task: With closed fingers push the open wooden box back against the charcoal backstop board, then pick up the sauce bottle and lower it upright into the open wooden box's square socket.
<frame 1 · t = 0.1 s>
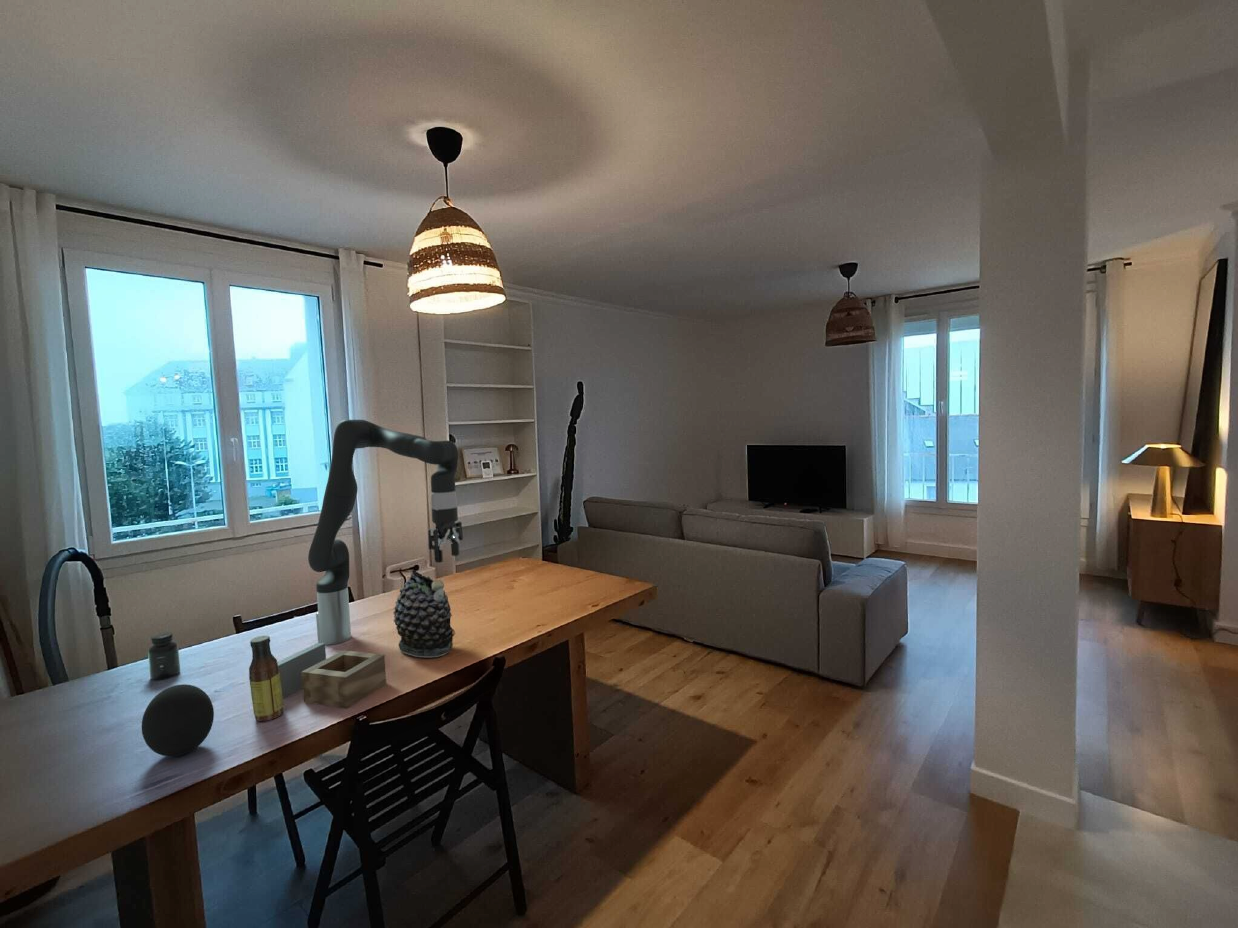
hand: (447, 558, 172), 29 cm above the table, fingers open, 8 cm apart
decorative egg: (182, 753, 123), on the table
sauce bottle: (268, 717, 138), on the table
backstop: (300, 685, 154), on the table
supplement bottle: (165, 675, 164), on the table
open wooden box: (345, 677, 149), point 4 cm above the table, slide at 7.0 cm
scaly dragon egg: (425, 651, 176), on the table
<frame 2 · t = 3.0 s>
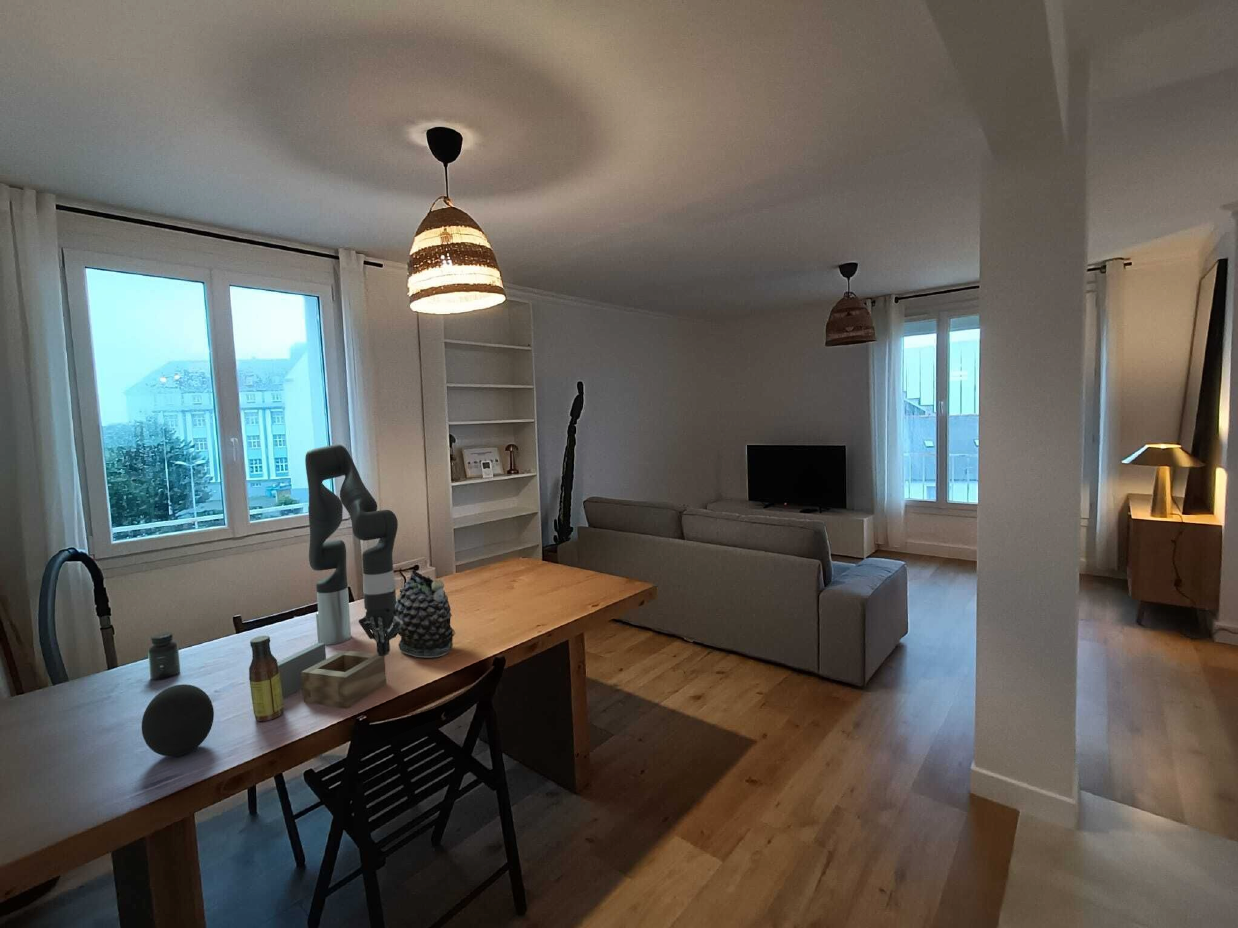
hand: (383, 654, 144), 11 cm above the table, fingers closed
nothing on the table moved.
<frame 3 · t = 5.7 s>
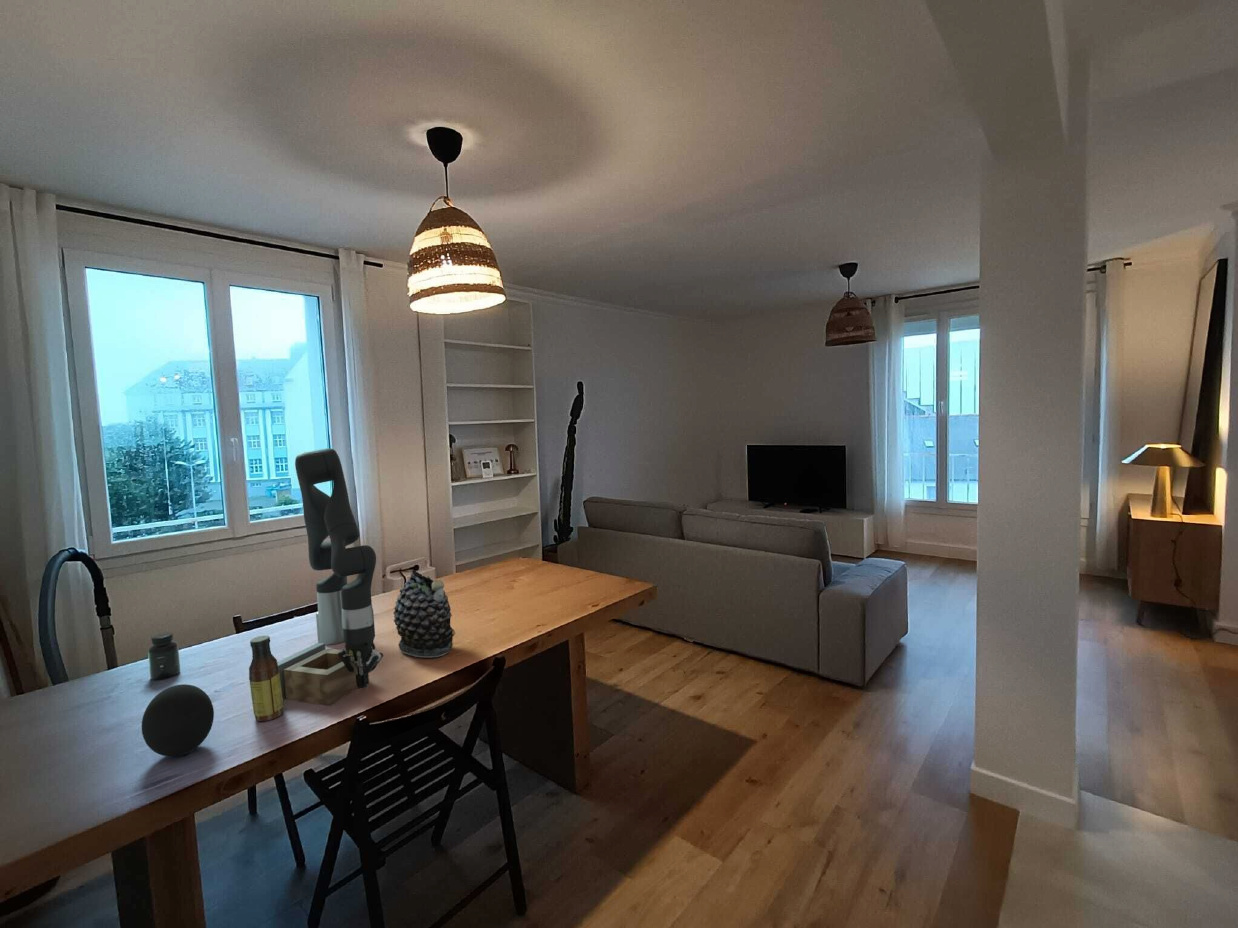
hand: (362, 686, 148), 2 cm above the table, fingers closed
open wooden box: (327, 675, 151), point 4 cm above the table, slide at 1.2 cm, touching hand
everything else where it was.
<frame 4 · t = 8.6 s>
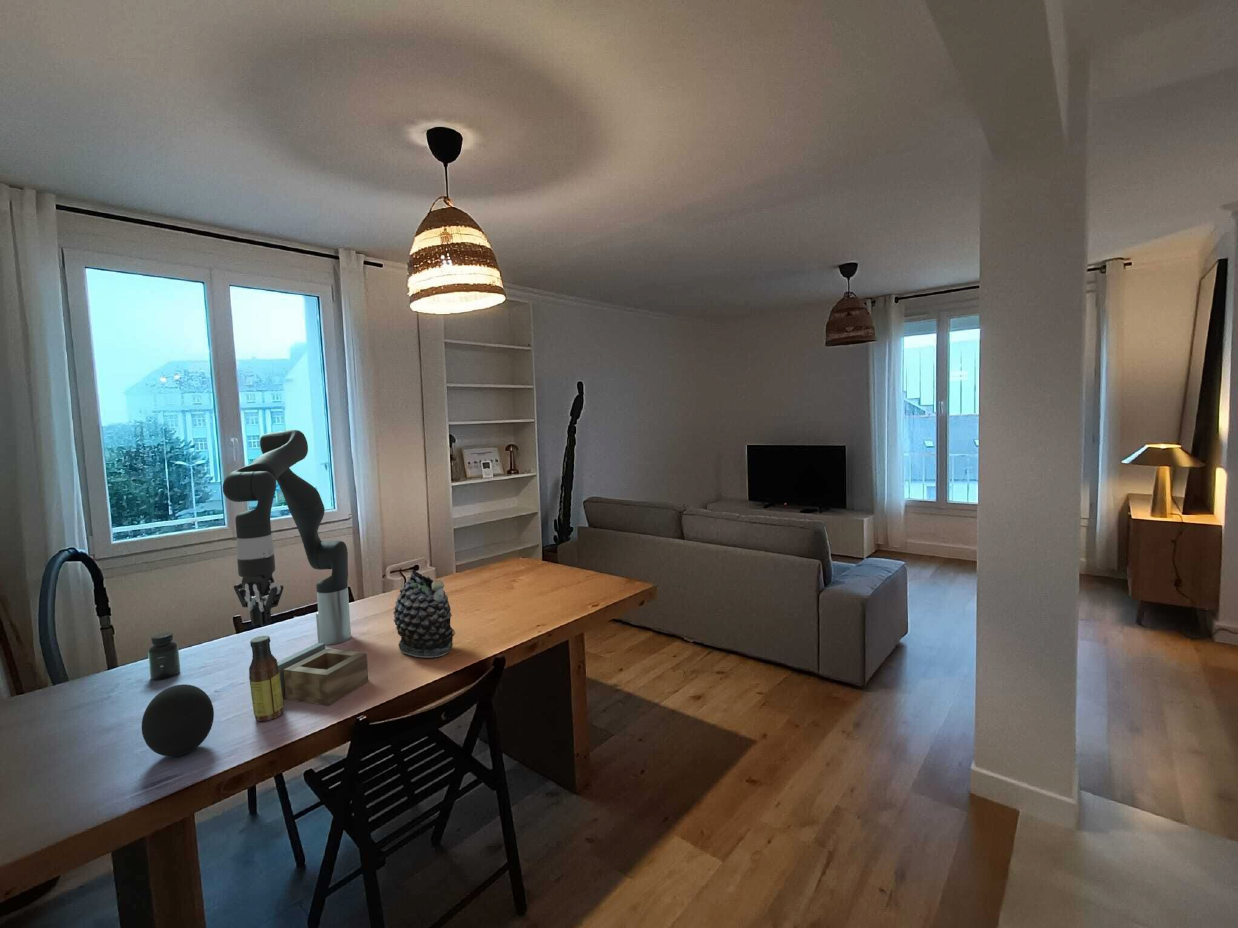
hand: (261, 624, 136), 23 cm above the table, fingers closed
open wooden box: (327, 675, 151), point 4 cm above the table, slide at 1.1 cm
everything else where it was.
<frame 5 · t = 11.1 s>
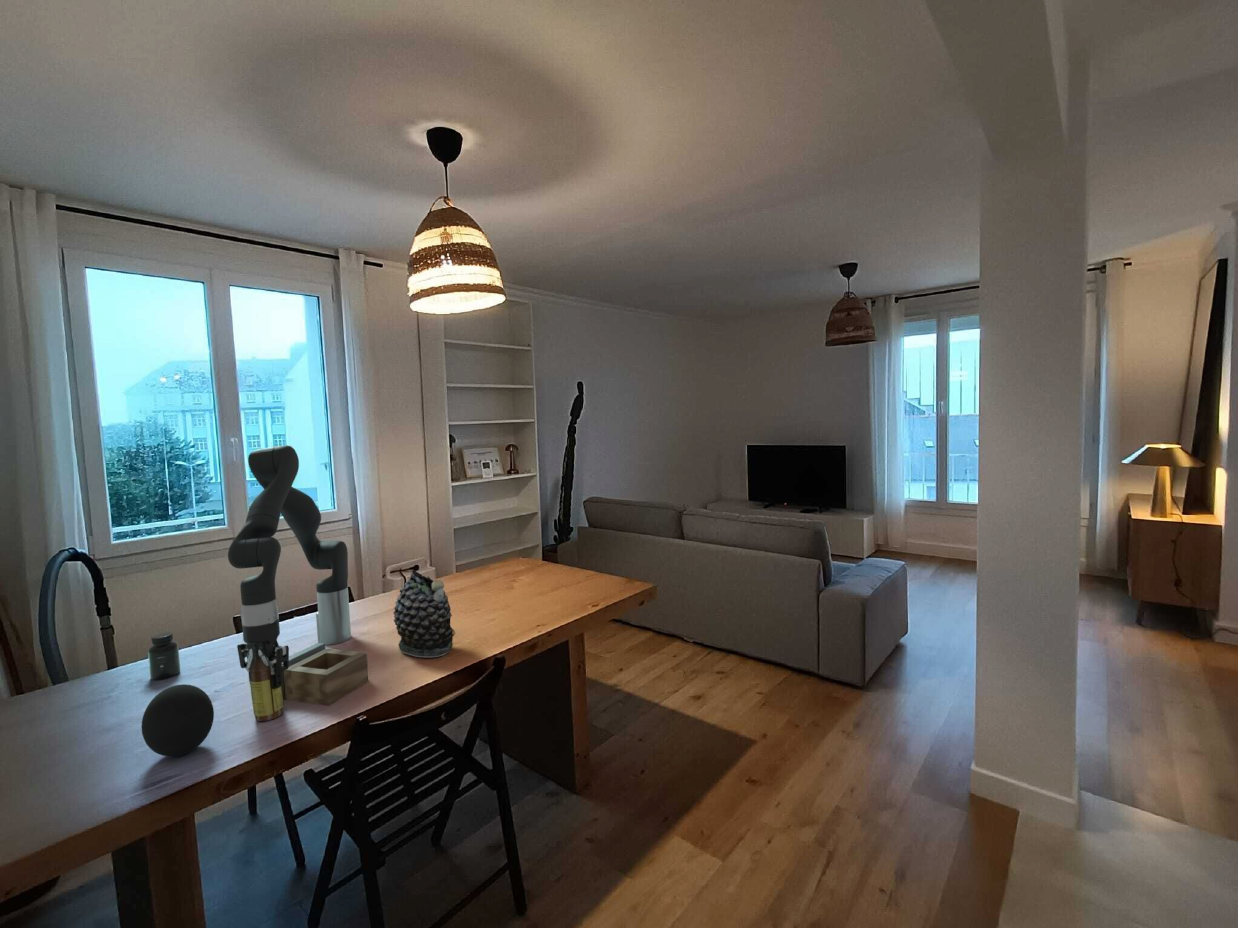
hand: (265, 685, 137), 8 cm above the table, fingers closed on sauce bottle, 6 cm apart
sauce bottle: (268, 717, 138), on the table, touching gripper
everything else where it was.
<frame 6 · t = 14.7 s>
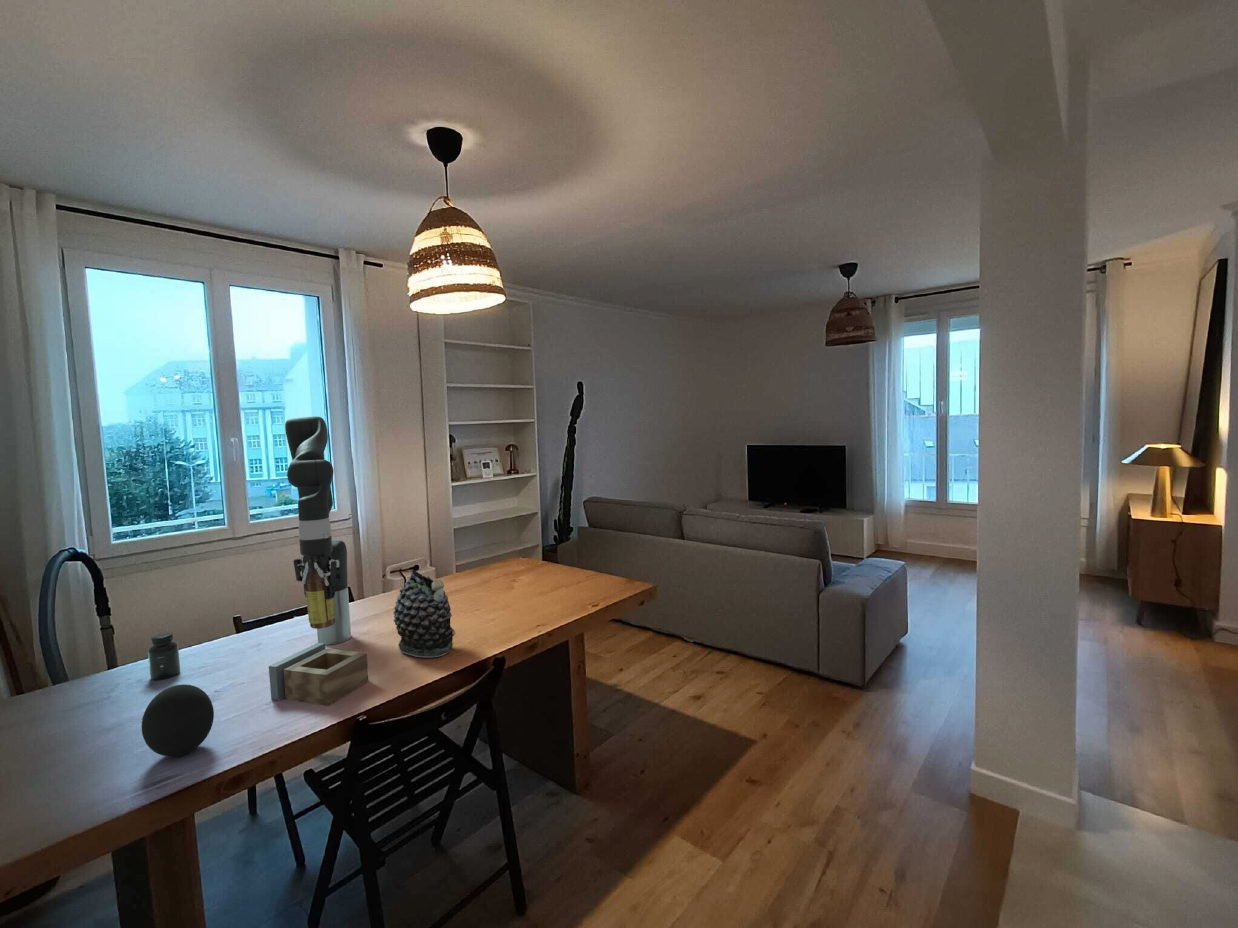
hand: (320, 597, 149), 25 cm above the table, fingers closed on sauce bottle, 6 cm apart
sauce bottle: (322, 626, 150), point 17 cm above the table, touching gripper
everything else where it was.
when the fingers open (10 cm above the table, at t = 18.3 s): sauce bottle stays where it is, resting on open wooden box.
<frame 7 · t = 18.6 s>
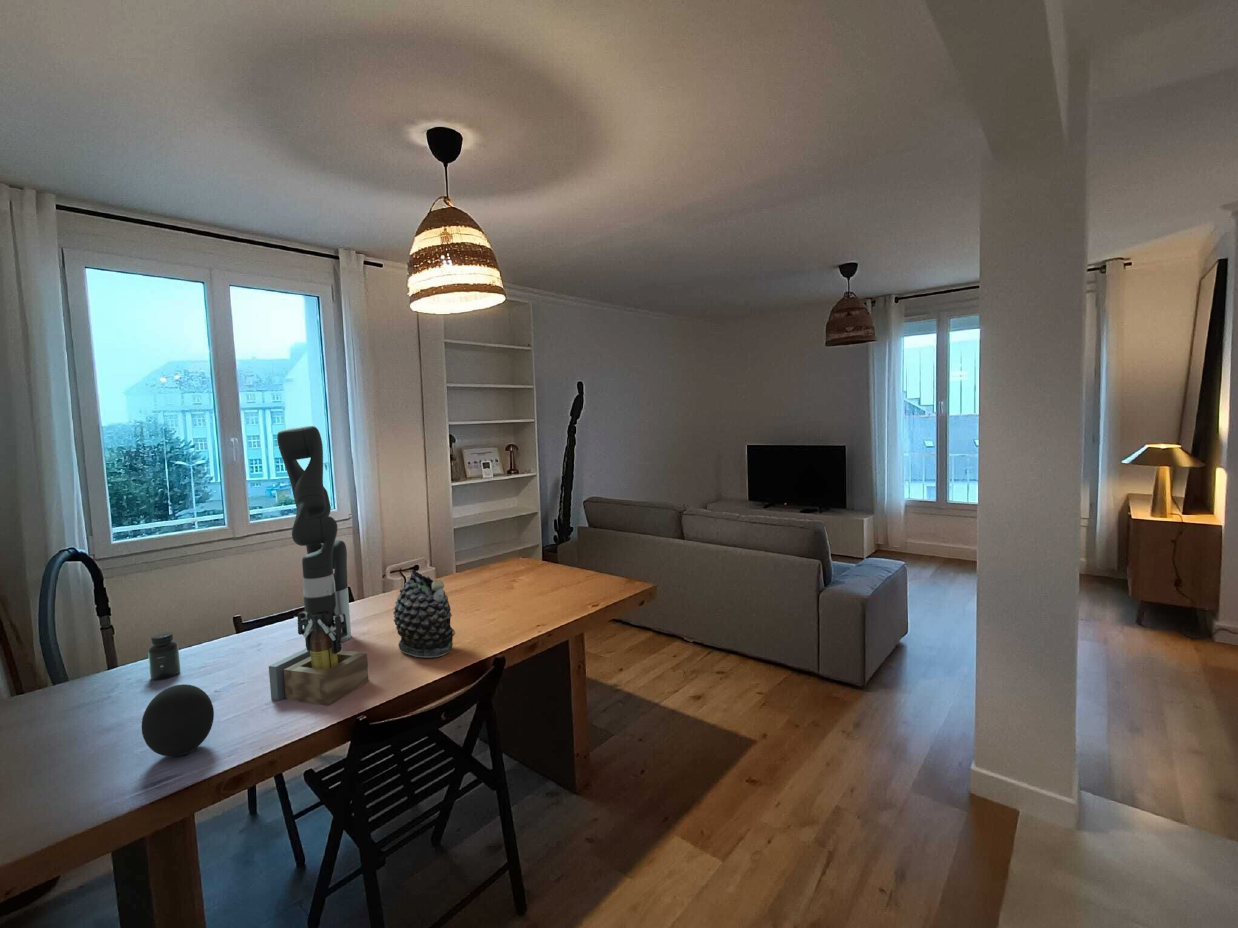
hand: (323, 651, 150), 11 cm above the table, fingers open, 8 cm apart
sauce bottle: (326, 684, 151), point 1 cm above the table, touching open wooden box
open wooden box: (327, 675, 151), point 4 cm above the table, slide at 1.1 cm, touching sauce bottle
everything else where it was.
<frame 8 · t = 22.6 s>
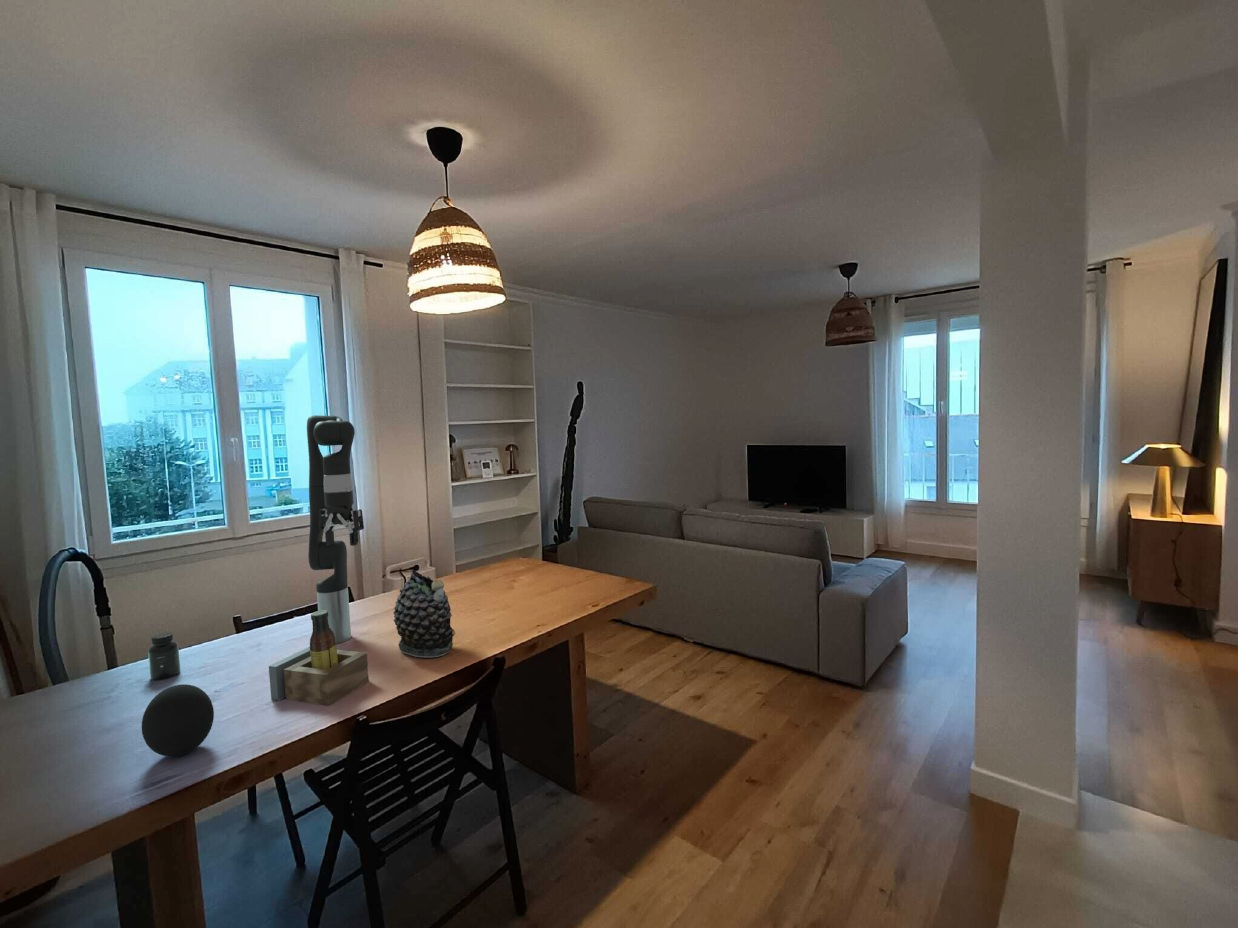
hand: (342, 544, 165), 36 cm above the table, fingers open, 8 cm apart
nothing on the table moved.
at the end: open wooden box slide at 1.1 cm; sauce bottle 0.7 cm off-centre on the open wooden box, point 1.3 cm above the open wooden box's base; sauce bottle tilted 0° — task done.
